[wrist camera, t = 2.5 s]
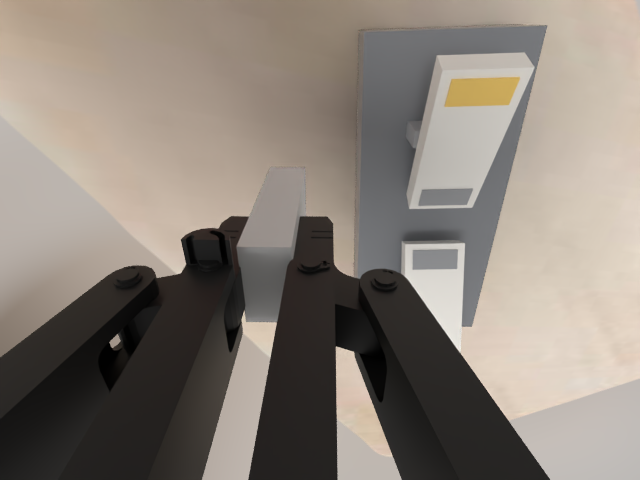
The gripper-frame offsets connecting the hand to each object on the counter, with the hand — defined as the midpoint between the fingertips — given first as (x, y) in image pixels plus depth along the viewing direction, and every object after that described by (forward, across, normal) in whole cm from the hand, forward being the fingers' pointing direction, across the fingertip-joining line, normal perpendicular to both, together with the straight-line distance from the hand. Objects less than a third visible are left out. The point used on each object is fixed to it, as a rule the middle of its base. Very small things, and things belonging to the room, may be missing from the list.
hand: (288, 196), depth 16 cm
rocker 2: (+9, +10, 0) cm, 14 cm away
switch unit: (+19, +10, -7) cm, 22 cm away
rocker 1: (+10, +11, -14) cm, 20 cm away
